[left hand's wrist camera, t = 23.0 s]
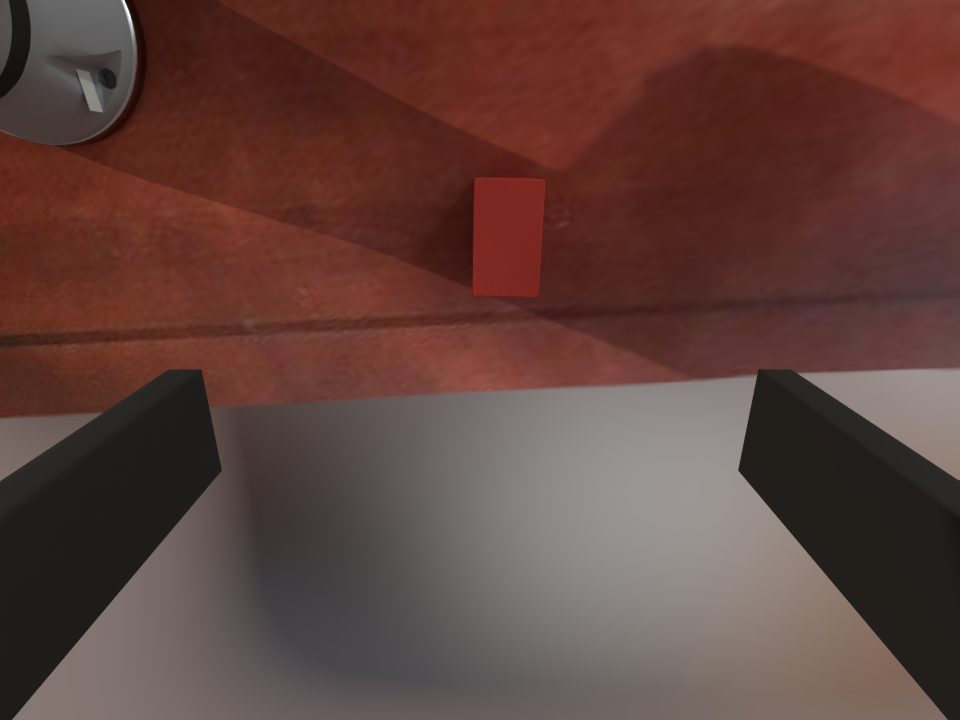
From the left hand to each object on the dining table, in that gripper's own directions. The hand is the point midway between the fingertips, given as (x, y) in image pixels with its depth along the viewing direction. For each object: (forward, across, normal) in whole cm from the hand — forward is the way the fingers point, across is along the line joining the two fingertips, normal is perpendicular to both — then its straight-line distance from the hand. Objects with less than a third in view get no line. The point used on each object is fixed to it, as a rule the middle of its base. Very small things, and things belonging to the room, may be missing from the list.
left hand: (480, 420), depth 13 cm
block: (+34, -2, -1) cm, 34 cm away
